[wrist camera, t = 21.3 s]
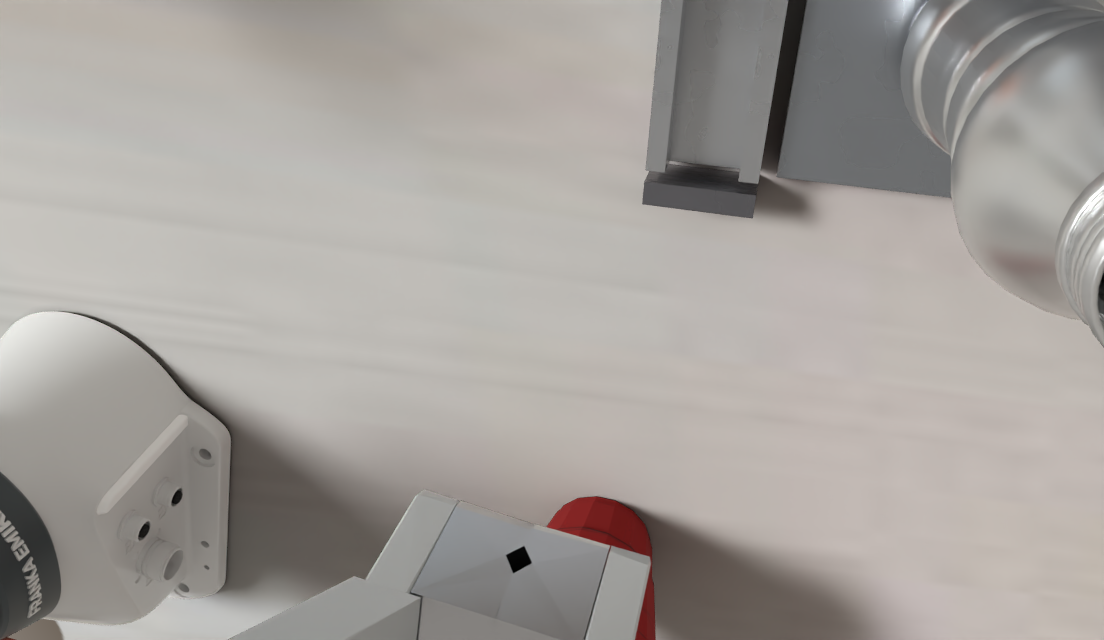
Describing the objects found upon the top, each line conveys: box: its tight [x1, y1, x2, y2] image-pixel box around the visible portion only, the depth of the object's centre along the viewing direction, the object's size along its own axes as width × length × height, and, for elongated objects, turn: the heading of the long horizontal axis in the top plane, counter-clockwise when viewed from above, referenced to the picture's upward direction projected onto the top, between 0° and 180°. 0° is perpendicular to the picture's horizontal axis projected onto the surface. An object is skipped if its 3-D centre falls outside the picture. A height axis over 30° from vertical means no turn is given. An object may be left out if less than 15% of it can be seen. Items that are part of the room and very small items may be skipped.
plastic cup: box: [547, 496, 656, 640], centre depth 44 cm, size 11×11×12 cm
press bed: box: [777, 0, 952, 198], centre depth 23 cm, size 17×11×21 cm, turn 178°
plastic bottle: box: [900, 0, 1104, 347], centre depth 23 cm, size 6×7×20 cm
